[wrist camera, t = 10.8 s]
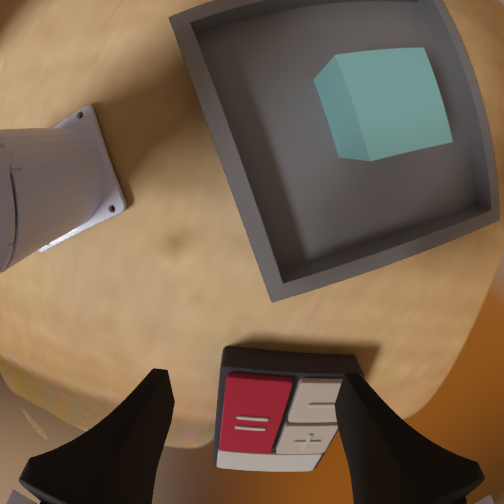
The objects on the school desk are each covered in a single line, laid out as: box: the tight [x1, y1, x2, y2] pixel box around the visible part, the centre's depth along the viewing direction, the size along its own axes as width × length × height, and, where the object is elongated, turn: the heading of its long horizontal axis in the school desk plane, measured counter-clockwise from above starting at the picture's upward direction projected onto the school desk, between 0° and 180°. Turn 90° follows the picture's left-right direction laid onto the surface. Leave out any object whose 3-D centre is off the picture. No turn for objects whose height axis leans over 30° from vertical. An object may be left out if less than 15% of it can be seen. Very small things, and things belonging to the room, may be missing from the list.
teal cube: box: [314, 48, 453, 161], centre depth 13 cm, size 5×5×5 cm
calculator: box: [212, 346, 364, 471], centre depth 23 cm, size 11×4×15 cm
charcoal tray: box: [169, 0, 500, 302], centre depth 14 cm, size 18×18×2 cm
